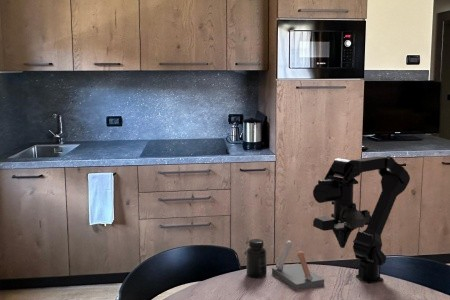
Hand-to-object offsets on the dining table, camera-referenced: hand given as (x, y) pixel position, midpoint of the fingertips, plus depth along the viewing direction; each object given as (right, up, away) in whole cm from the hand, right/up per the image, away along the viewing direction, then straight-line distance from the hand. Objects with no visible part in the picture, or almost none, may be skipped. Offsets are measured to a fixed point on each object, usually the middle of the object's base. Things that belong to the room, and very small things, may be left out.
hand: (342, 247), depth 145 cm
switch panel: (-13, -12, +8) cm, 20 cm away
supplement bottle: (-26, -12, +12) cm, 31 cm away
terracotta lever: (-10, -10, +2) cm, 14 cm away
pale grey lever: (-18, -9, +11) cm, 23 cm away
